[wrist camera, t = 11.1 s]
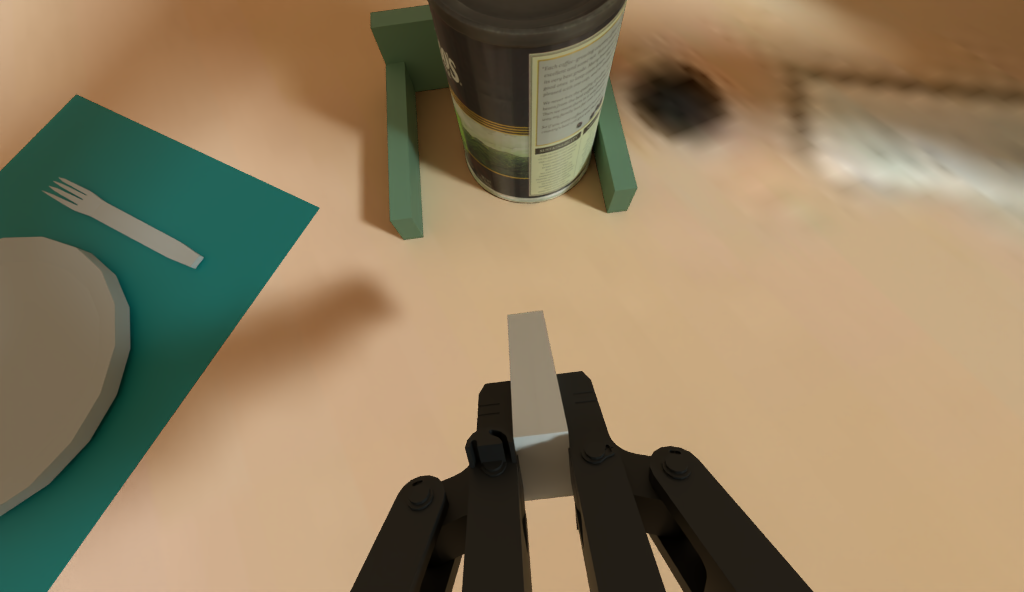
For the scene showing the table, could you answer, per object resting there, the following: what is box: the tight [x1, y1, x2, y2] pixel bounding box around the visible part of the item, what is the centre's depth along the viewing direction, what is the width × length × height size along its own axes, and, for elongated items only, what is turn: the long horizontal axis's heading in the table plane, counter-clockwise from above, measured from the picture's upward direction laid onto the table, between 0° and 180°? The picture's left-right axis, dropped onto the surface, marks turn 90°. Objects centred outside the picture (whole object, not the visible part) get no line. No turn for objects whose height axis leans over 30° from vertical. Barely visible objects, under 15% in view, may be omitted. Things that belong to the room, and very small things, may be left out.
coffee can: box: [427, 0, 627, 203], centre depth 25 cm, size 10×10×14 cm
